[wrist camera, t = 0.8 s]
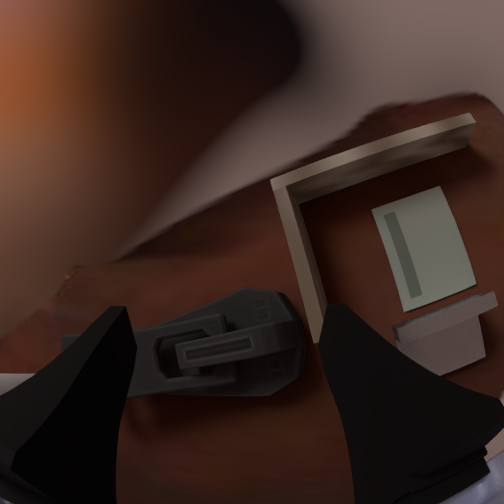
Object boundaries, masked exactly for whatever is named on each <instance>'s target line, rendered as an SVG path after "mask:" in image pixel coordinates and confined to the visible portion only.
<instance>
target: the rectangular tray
mask: <svg viewBox="0 0 504 504" xmlns="http://www.w3.org/2000/svg"><path fill="white" fill-rule="evenodd" d="M371 211H372V214H373V216H374V219H375V222H376V224H377V227H378V230H379V233H380V236H381V238H382V241H383V244H384V247H385V250H386V253H387V256H388V259H389V262H390V266H391V269H392V272H393V275H394V278H395V282H396V285H397V289H398V292H399V296H400V299H401V303H402V307H403V310H404V312H406V311H409V310H411V309H414V308H417V307H420V306H423V305H425V304H428V303H431V302H433V301H436V300H439V299H441V298H444V297H446V296H449V295H451V294H454V293H456V292H459V291H461V290H464V289H466V288H468V287H471V286H473V285H475V284H476V281H475V277H474V274H473V271H472V267H471V264H470V261H469V258H468V255H467V252H466V249H465V246H464V243H463V241H462V238H461V235H460V232H459V230H458V227H457V225H456V222H455V220H454V217H453V215H452V212H451V210H450V208H449V205H448V203H447V201H446V198H445V196H444V194H443V192H442V190H441V187H440V186H437V187H435V188H432V189H429V190H426V191H423V192H420V193H417V194H415V195H412V196H409V197H406V198H403V199H400V200H397V201H394V202H392V203H389V204H386V205H383V206H380V207H377V208H374V209H371Z"/></svg>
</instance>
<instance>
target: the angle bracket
mask: <svg viewBox="0 0 504 504" xmlns="http://www.w3.org/2000/svg"><path fill="white" fill-rule="evenodd" d="M496 306H498V305H497V300H496V296H495V292H494V291H490V292H486V293H482V294H477V295H473V296H469V297H467V298H464V299H462V300H459V301H457V302H455V303H452V304H450V305H447V306H444V307H442V308H439V309H437V310H434V311H431V312H429V313H426V314H423V315H421V316H418V317H415V318H412V319H409V320H406V321H403V322H401V323H398V324H395V325H392V329H393V333H394V337H395V341H396V346H397V349H398V350H399V351H401V352H402V353H403V354H405V355H406V356H408V357H409V358H411V359H412V360H414V361H415V362H417V363H418V364H420V365H421V366H423V367H425V368H426V369H428V370H430V371H431V372H433V373H435V374H437V375H439V376H441V375H443V374H446V373H448V372H451V371H453V370H456V369H458V368H461V367H463V366H466V365H468V364H470V363H473V362H475V361H477V360H479V359H481V358H484V357H486V355H485V349H484V343H483V338H482V332H481V327H480V323H479V318H478V315H479V314H481V313H483V312H486V311H488V310H490V309H492V308H494V307H496Z"/></svg>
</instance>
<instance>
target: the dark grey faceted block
mask: <svg viewBox="0 0 504 504" xmlns="http://www.w3.org/2000/svg"><path fill="white" fill-rule="evenodd" d="M132 331H133V334H134V337H135V341H136V344H137V353H136V360H135V367H134V372H133V376H132V379H131V383H130V387H129V390H128V394H127V398H134V397H141V396H147V395H153V394H159V393H165V392H166V393H167V394H174V395H191V396H242V397H250V396H271V395H272V394H274V393H276V392H277V391H279V390H280V389H282V388H283V387H285V386H286V385H288V384H289V383H291V382H292V381H294V380H295V379H297V378H298V377H299V376H301V375H302V374H303V372H304V363H305V353H306V340H305V336H304V331H303V327H302V323H301V319H300V317H299V316H298V314H297V313H296V311H295V310H294V308H293V306H292V305H291V303H290V302H289V300H288V299H287V297H286V296H285V294H284V293H281V292H277V291H271V290H263V289H255V288H247V287H245V288H242V289H240V290H238V291H235V292H233V293H231V294H229V295H227V296H224V297H222V298H220V299H218V300H215V301H213V302H211V303H208V304H206V305H204V306H201V307H199V308H197V309H194V310H192V311H190V312H187V313H185V314H182V315H180V316H178V317H175V318H173V319H170V320H168V321H165V322H163V323H161V324H158V325H156V326H154V327H153V328H144V329H135V330H132ZM80 335H81V334H72V335H63V336H62V339H61V353H62V352H63V351H64V350H65V349H66V348H67V347H68V346H70V345H71V344H72V343H73V342H74V341H75V340H76V339H77V338H78V337H79V336H80ZM127 398H126V399H127Z"/></svg>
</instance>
